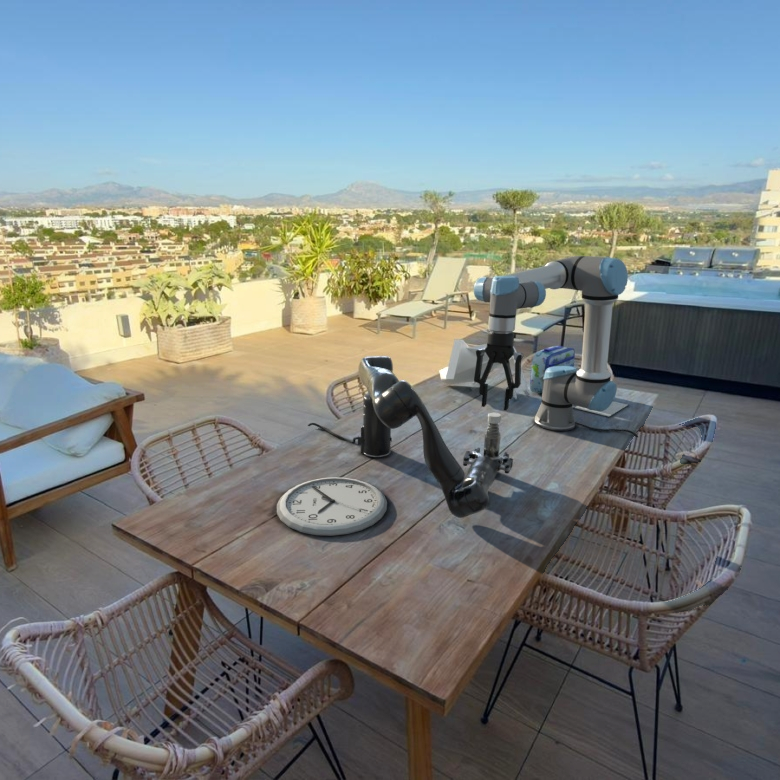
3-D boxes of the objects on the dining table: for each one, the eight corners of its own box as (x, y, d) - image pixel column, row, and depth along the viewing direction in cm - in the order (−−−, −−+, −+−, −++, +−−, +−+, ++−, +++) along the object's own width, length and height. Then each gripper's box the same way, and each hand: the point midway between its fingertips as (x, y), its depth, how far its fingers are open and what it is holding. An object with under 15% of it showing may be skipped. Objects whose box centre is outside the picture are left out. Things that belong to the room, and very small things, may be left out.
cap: (501, 423, 156) (502, 417, 156) (488, 423, 156) (489, 416, 156) (498, 419, 160) (499, 412, 160) (486, 419, 160) (486, 412, 160)
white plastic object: (461, 429, 252) (437, 405, 227) (444, 352, 274) (420, 323, 250) (535, 404, 240) (518, 377, 215) (510, 326, 262) (492, 293, 237)
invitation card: (608, 416, 214) (573, 407, 224) (608, 416, 214) (573, 408, 224) (628, 404, 229) (594, 396, 238) (628, 405, 229) (594, 397, 238)
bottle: (498, 476, 161) (503, 418, 156) (483, 476, 161) (487, 418, 156) (495, 469, 166) (500, 413, 160) (480, 469, 166) (485, 413, 160)
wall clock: (392, 527, 129) (268, 531, 127) (391, 533, 130) (269, 537, 127) (383, 473, 158) (282, 475, 155) (383, 478, 158) (282, 480, 156)
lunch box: (546, 399, 235) (551, 353, 228) (525, 393, 242) (530, 349, 236) (574, 387, 252) (579, 345, 246) (553, 383, 260) (558, 341, 253)
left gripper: (507, 466, 145) (516, 445, 160) (457, 457, 150) (470, 437, 165) (505, 490, 148) (514, 467, 162) (456, 481, 152) (469, 459, 167)
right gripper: (537, 332, 149) (529, 408, 156) (472, 326, 157) (468, 398, 164) (532, 336, 143) (524, 416, 150) (465, 330, 151) (460, 405, 158)
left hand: (492, 452), depth 163 cm, fingers open, 8 cm apart
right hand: (494, 407), depth 157 cm, fingers open, 6 cm apart
